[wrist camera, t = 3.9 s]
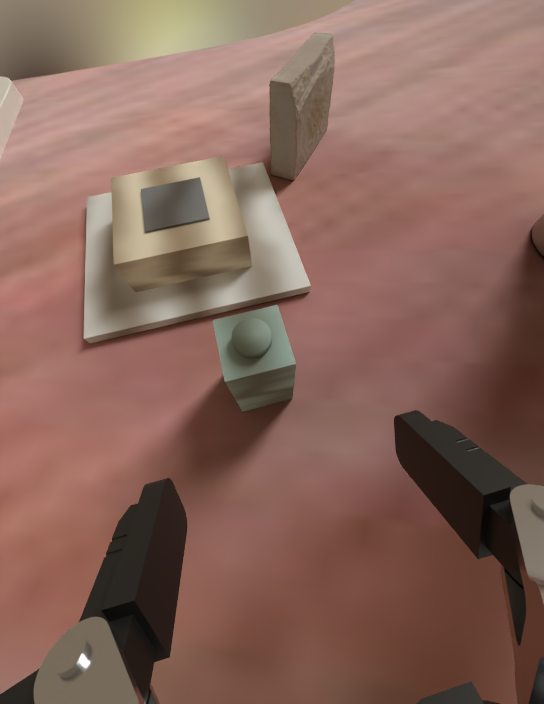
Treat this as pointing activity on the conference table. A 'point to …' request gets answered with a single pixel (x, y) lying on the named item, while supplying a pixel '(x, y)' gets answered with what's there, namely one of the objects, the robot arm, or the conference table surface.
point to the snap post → (256, 357)
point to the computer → (8, 110)
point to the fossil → (300, 105)
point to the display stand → (185, 247)
